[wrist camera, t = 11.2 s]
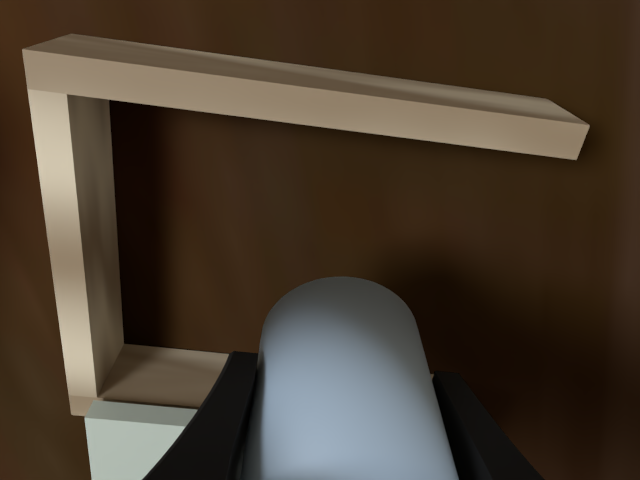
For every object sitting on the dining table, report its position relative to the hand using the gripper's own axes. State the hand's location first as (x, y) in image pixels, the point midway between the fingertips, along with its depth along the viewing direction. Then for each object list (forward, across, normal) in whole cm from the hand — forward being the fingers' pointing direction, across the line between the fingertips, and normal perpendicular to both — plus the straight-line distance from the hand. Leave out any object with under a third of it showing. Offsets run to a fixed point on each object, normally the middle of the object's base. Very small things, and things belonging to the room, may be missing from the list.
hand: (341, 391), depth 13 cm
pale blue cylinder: (+2, 0, 0) cm, 2 cm away
